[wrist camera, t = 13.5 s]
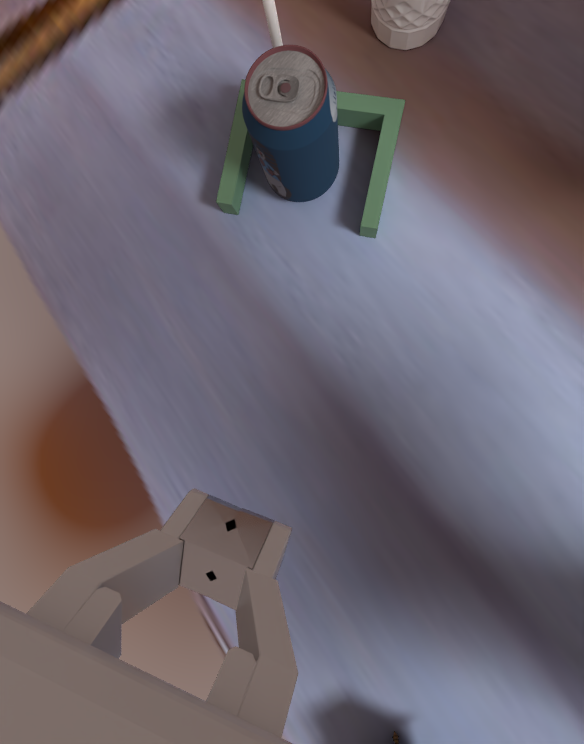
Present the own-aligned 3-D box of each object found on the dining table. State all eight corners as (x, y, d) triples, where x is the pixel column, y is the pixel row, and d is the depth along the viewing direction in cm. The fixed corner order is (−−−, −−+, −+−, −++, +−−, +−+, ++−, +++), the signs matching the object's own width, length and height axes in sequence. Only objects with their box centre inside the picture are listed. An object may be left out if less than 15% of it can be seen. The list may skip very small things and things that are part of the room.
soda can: (346, 141, 40) (346, 40, 28) (330, 213, 40) (324, 143, 28) (275, 131, 41) (246, 30, 29) (260, 201, 41) (226, 129, 29)
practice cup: (401, 117, 39) (448, -100, 21) (375, 238, 39) (400, 122, 22) (246, 97, 41) (169, -118, 23) (221, 212, 41) (127, 86, 23)
